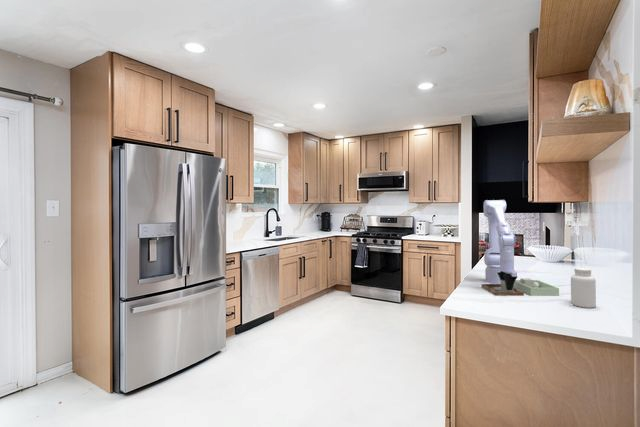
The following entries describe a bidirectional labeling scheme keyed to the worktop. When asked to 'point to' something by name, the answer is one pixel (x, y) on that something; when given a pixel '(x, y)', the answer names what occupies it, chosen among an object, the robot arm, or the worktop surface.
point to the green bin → (537, 289)
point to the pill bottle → (583, 288)
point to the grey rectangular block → (527, 282)
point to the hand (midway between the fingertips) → (507, 288)
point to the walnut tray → (497, 293)
